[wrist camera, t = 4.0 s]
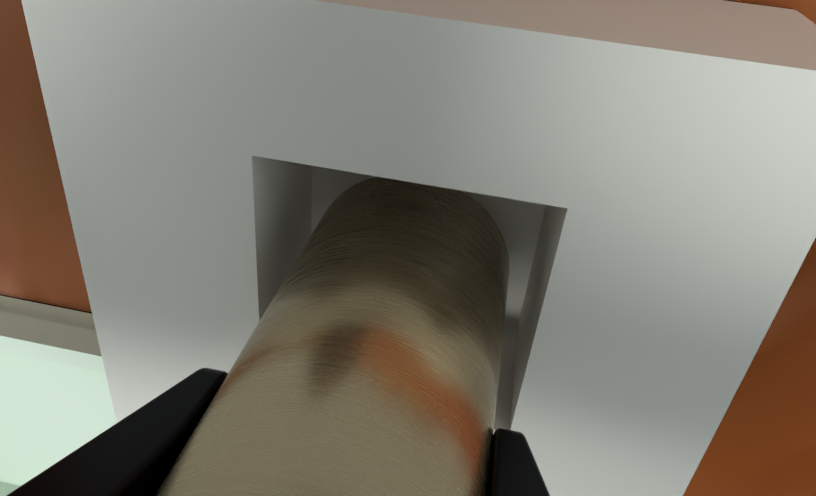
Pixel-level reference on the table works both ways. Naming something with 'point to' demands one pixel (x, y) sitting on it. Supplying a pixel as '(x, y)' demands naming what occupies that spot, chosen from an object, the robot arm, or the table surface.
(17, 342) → the tray
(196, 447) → the plug
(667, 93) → the white block with recess
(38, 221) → the table surface
